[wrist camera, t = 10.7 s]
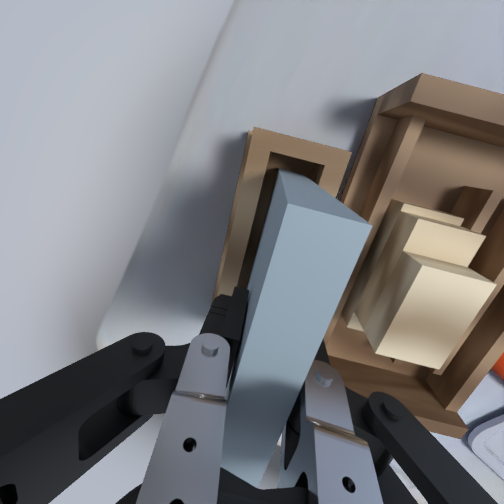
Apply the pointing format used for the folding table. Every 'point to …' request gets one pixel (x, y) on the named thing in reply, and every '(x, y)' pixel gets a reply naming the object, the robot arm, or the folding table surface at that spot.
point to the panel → (286, 314)
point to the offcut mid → (417, 252)
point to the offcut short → (425, 309)
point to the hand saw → (489, 431)
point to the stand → (269, 194)
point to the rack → (439, 198)
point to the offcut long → (378, 246)
